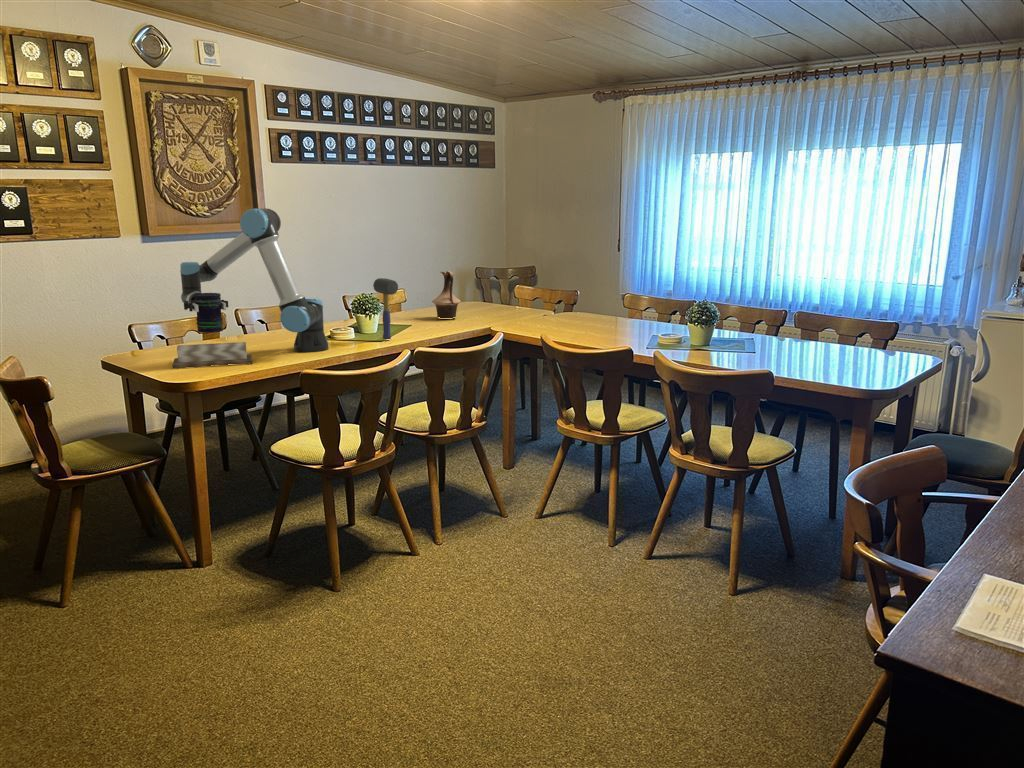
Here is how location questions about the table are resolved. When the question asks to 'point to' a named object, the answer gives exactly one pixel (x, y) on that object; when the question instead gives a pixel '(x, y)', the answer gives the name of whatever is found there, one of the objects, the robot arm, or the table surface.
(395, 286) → the rubber mallet
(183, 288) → the robot arm
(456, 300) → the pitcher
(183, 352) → the ridge stand
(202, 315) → the storage jar
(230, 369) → the table surface
